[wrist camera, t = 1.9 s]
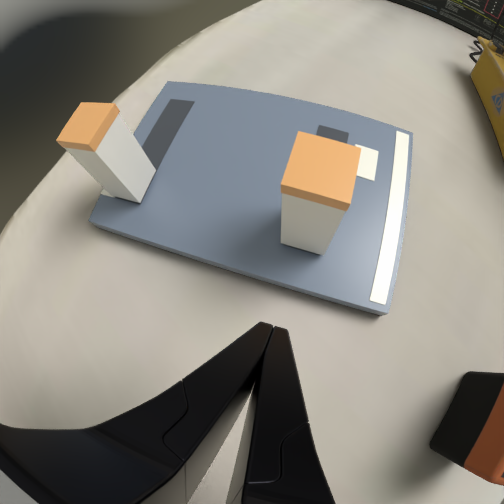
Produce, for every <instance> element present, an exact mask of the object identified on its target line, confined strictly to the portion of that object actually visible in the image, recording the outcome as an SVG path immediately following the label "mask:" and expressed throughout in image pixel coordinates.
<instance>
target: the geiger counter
mask: <svg viewBox="0 0 504 504" xmlns="http://www.w3.org/2000/svg"><path fill="white" fill-rule="evenodd" d="M503 17H504V11H503V13H502V14H501V16H500V18H499V20H498V21H497V23H496V25H495V28H494V30H493V32H492V34H491V40H490V41H489V40H487V39H484V38H482V37H480V36H478V38H477V39H478V41H474V42H473V43H474V44H475V45H476V46H477V47H478V48H479V49H480V52H474V53H471V54H470V57H471V58H472V59H473V60H474V61H475V62H476V65H475V67H474V68H473V70H472V72H471V74H470V76H471V79H472V81H473V83H474V85H475V87H476V89H477V91H478V93H479V96H480V98H481V100H482V102H483V105H484V107H485V109H486V112H487V114H488V117H489V119H490V122H491V124H492V127H493V130H494V132H495V135H496V138H497V141H498V143H499V146H500V149H501V152H502V156H503V159H504V46H502V45H501V44H498V43H496V42H493V37H494V35H495V32H496V30H497V28H498V26H499V24H500V22H501V20H502V18H503ZM477 43H479V44H481V45H482V47H483V48H484V50H482V49H481V48H480V46H479V45H478V44H477ZM478 54H481V55H480V57H479V59H478V61H477V60H476V59H475V58H474V57H473V55H478Z"/></svg>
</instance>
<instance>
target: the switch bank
mask: <svg viewBox="0 0 504 504" xmlns="http://www.w3.org/2000/svg"><path fill="white" fill-rule="evenodd" d="M298 131H301V132H305V133H309V134H313V135H317V136H321V137H324V138H328V139H332V140H335V141H339V142H342V143H346V144H349V145H353V146H356V147H359V148H361V153H360V159H359V164H358V170H357V175H356V180H355V185H354V190H353V195H352V199H351V204H350V206H349V208H348V210H347V211H345V213H344V215H343V217H342V220H341V222H340V224H339V226H338V228H337V230H336V232H335V234H334V236H333V238H332V240H331V242H330V244H329V246H328V248H327V250H326V252H325V254H324V256H323V255H320V254H316V253H313V252H310V251H306V250H303V249H299V248H296V247H293V246H289V245H286V244H282V243H281V210H282V193H281V182H282V179H283V176H284V173H285V170H286V167H287V164H288V161H289V158H290V155H291V152H292V149H293V146H294V143H295V140H296V136H297V133H298ZM133 135H134V137H135V138H136V140H137V141H138V143H139V145H140V146H141V148H142V149H143V151H144V152H145V154H146V155H147V157H148V159H149V160H150V162H151V163H152V165H153V166H154V168H155V169H156V172H155V174H154V176H153V178H152V180H151V182H150V184H149V186H148V188H147V190H146V192H145V194H144V196H143V198H142V200H141V203H138V202H134V201H131V200H127V199H123V198H119V197H116V196H112V195H110V194H109V193H108V192H107V191H106V190H105V189H104V188H103V190H102V192H101V195H100V197H99V199H98V201H97V203H96V205H95V207H94V209H93V212H92V214H91V216H90V218H89V220H88V221H89V222H91V223H92V224H93V225H95V226H96V227H98V228H101V229H104V230H107V231H110V232H113V233H116V234H119V235H122V236H125V237H128V238H131V239H134V240H137V241H140V242H143V243H146V244H149V245H152V246H155V247H158V248H161V249H164V250H167V251H170V252H173V253H176V254H179V255H182V256H185V257H188V258H191V259H195V260H198V261H201V262H204V263H207V264H210V265H213V266H216V267H220V268H223V269H226V270H229V271H232V272H236V273H239V274H242V275H245V276H248V277H252V278H255V279H258V280H261V281H265V282H268V283H271V284H275V285H278V286H281V287H284V288H288V289H291V290H294V291H298V292H301V293H304V294H308V295H311V296H315V297H318V298H321V299H325V300H328V301H332V302H335V303H339V304H342V305H345V306H349V307H352V308H356V309H359V310H363V311H366V312H370V313H373V314H377V315H381V316H382V315H386V314H388V313H389V309H390V305H391V300H392V296H393V291H394V286H395V281H396V276H397V271H398V266H399V260H400V255H401V249H402V242H403V236H404V229H405V222H406V214H407V206H408V197H409V187H410V175H411V162H412V143H413V133H412V132H409V131H406V130H403V129H401V128H398V127H395V126H392V125H389V124H386V123H383V122H380V121H377V120H374V119H371V118H367V117H364V116H361V115H357V114H354V113H350V112H347V111H343V110H340V109H336V108H332V107H328V106H324V105H320V104H316V103H312V102H308V101H303V100H299V99H294V98H289V97H285V96H279V95H274V94H269V93H263V92H257V91H251V90H245V89H238V88H231V87H224V86H215V85H206V84H197V83H185V82H171V81H168V82H167V83H166V84H165V86H164V87H163V89H162V90H161V92H160V93H159V95H158V96H157V98H156V99H155V101H154V102H153V104H152V105H151V107H150V108H149V110H148V111H147V113H146V115H145V116H144V118H143V119H142V121H141V123H140V124H139V126H138V127H137V129H136V131H135V132H134V134H133Z"/></svg>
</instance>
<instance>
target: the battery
mask: <svg viewBox="0 0 504 504" xmlns="http://www.w3.org/2000/svg"><path fill="white" fill-rule="evenodd" d="M430 448H431V449H432V450H434V451H436V452H437V453H439V454H441V455H442V456H444V457H446V458H447V459H449V460H451V461H453V462H454V463H456V464H458V465H459V466H461V467H463V468H465V469H466V470H468V471H470V472H472V473H474V474H475V475H477V476H479V477H481V478H483V479H485V480H486V481H488V482H491V483H494V484H498V485H503V486H504V373H490V372H473V371H470V372H467V373H466V375H465V377H464V379H463V381H462V383H461V385H460V388H459V390H458V392H457V394H456V396H455V398H454V400H453V402H452V404H451V406H450V408H449V410H448V412H447V414H446V416H445V418H444V420H443V421H442V423H441V425H440V427H439V429H438V430H437V432H436V434H435V436H434V437H433V439H432V441H431V443H430Z"/></svg>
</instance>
